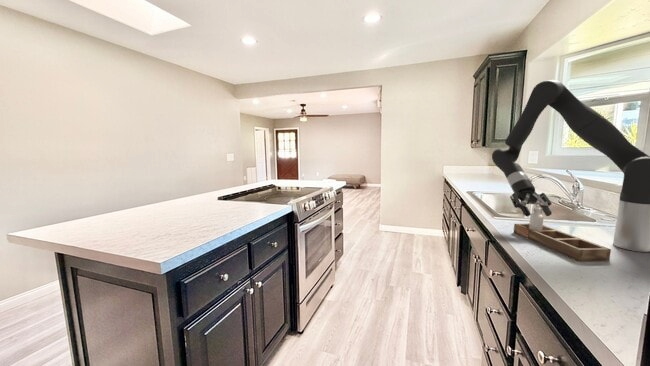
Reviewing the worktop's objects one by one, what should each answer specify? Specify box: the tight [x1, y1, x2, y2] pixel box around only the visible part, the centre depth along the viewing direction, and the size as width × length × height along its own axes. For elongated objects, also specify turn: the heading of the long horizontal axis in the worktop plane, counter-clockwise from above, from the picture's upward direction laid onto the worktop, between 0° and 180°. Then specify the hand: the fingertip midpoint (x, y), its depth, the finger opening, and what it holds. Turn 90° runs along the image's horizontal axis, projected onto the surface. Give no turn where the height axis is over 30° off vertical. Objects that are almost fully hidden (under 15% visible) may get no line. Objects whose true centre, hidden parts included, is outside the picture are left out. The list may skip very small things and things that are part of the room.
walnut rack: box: [513, 222, 612, 262], centre depth 99 cm, size 11×29×4 cm, turn 1°
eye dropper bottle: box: [529, 205, 544, 230], centre depth 107 cm, size 4×6×12 cm
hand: (539, 215), depth 106 cm, fingers open, 8 cm apart
